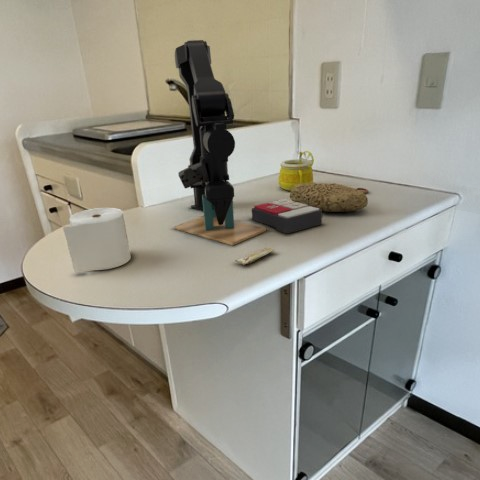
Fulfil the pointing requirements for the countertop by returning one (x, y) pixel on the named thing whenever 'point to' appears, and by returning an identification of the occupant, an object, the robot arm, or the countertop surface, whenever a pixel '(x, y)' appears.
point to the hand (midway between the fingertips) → (218, 218)
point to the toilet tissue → (97, 239)
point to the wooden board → (221, 231)
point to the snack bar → (254, 256)
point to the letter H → (210, 214)
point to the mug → (296, 172)
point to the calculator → (287, 215)
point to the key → (363, 190)
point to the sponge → (329, 197)
